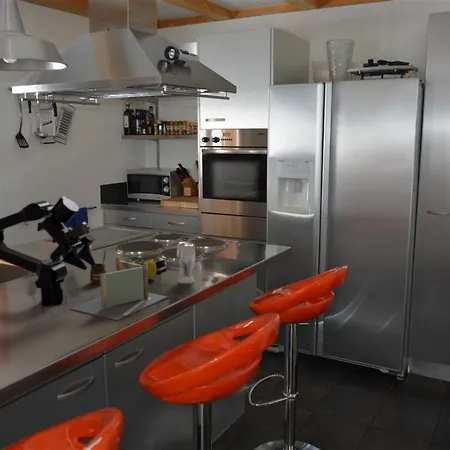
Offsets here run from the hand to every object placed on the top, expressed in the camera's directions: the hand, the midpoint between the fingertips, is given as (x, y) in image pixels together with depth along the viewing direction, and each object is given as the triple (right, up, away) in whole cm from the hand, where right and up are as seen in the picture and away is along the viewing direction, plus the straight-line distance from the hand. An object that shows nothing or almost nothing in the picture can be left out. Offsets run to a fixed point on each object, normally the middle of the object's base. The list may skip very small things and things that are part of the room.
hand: (90, 267), depth 172 cm
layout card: (+9, -13, +6) cm, 17 cm away
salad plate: (+12, -5, +50) cm, 52 cm away
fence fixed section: (+11, -11, +13) cm, 21 cm away
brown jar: (-4, -9, +30) cm, 31 cm away
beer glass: (+29, -8, +31) cm, 43 cm away
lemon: (+14, -8, +34) cm, 38 cm away
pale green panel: (+10, -12, +4) cm, 16 cm away
